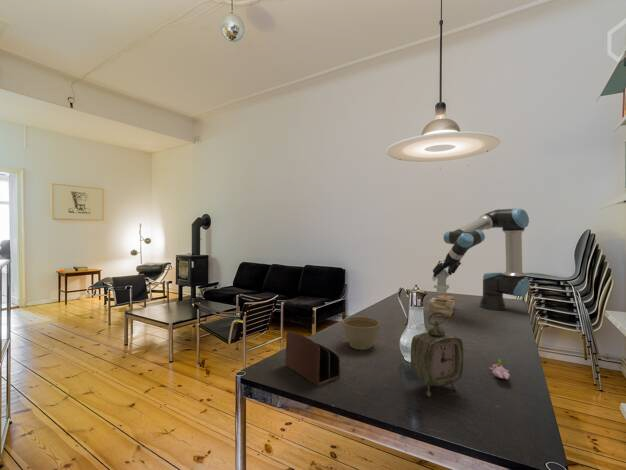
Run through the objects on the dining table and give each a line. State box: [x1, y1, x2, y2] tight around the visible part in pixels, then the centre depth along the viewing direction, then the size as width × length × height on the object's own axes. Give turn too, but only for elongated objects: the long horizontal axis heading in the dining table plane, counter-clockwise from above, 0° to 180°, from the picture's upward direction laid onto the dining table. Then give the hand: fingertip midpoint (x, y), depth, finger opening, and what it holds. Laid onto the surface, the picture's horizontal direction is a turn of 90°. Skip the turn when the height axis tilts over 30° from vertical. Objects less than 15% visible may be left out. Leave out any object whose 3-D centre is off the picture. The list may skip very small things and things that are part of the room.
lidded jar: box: [436, 293, 455, 307], centre depth 207 cm, size 11×11×9 cm
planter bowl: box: [342, 316, 381, 351], centre depth 140 cm, size 16×16×11 cm
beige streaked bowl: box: [428, 297, 454, 318], centre depth 195 cm, size 12×12×8 cm
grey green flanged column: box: [433, 268, 450, 294], centre depth 195 cm, size 8×8×14 cm
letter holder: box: [284, 331, 341, 386], centre depth 115 cm, size 10×20×14 cm, turn 37°
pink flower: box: [488, 358, 511, 380], centre depth 112 cm, size 6×6×15 cm
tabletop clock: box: [410, 312, 464, 397], centre depth 102 cm, size 14×9×25 cm, turn 114°
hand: (438, 279), depth 198 cm, fingers closed on grey green flanged column, 6 cm apart
